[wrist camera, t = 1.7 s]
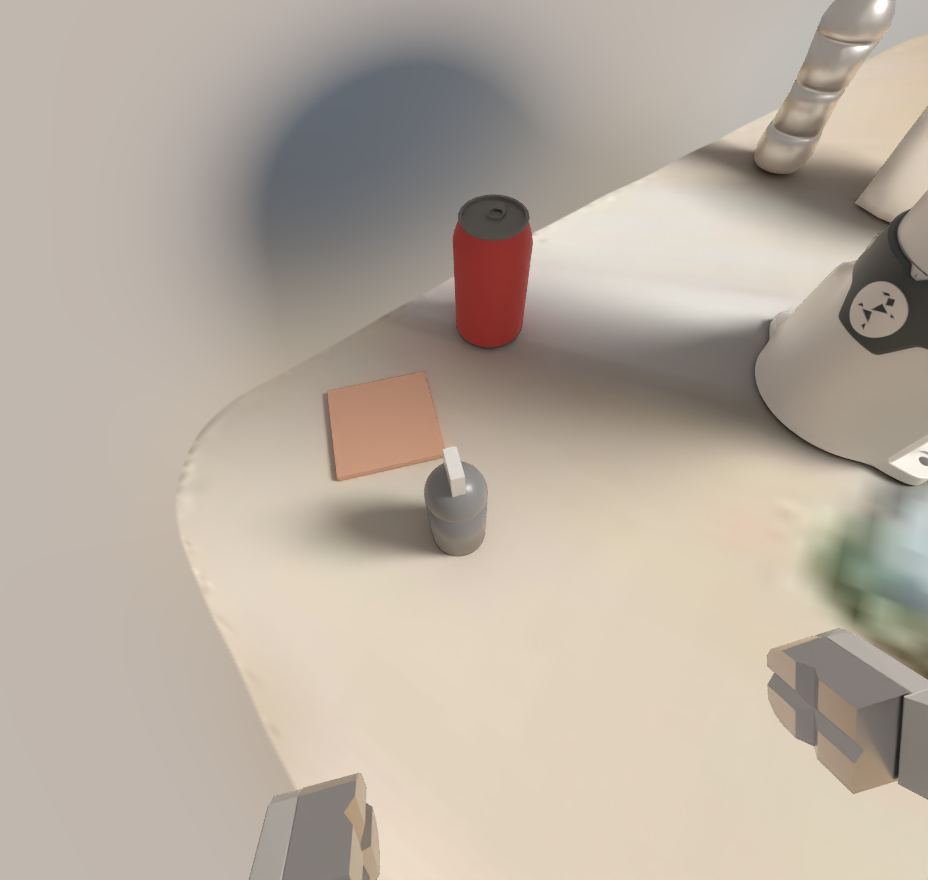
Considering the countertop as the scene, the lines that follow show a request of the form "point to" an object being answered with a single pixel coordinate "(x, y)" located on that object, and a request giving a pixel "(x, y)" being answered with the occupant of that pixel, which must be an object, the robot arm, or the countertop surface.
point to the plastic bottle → (822, 81)
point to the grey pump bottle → (456, 505)
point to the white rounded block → (900, 175)
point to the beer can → (491, 269)
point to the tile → (383, 425)
